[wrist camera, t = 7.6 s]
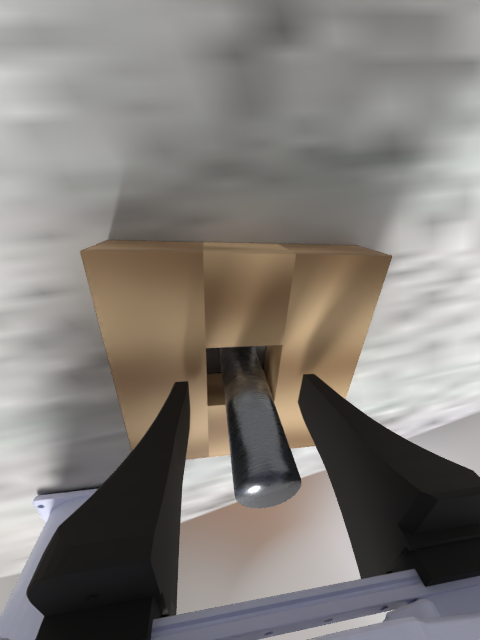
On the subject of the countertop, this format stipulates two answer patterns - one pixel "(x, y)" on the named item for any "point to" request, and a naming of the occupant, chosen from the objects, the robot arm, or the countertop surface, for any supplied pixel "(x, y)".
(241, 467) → the pin
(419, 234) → the countertop surface
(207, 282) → the tan slotted block
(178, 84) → the countertop surface
